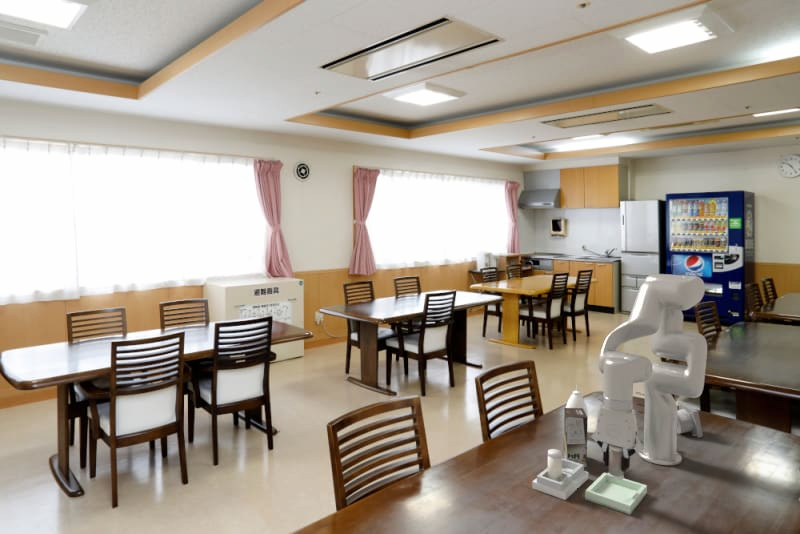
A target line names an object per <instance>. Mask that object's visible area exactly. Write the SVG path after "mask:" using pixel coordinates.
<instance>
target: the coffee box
mask: <svg viewBox="0 0 800 534" xmlns="http://www.w3.org/2000/svg"><path fill="white" fill-rule="evenodd" d="M588 418H589V417H587V415H586V413H585V411H584V409H583V408H566V407H563V457H564V459H566V460H570V461H573V462H576V463H579V464H583V465H584V468H587V467H588V466H587V465H588V464H587V463H588V462H587V461H588V460H587V459H588V421H589V420H588Z"/></svg>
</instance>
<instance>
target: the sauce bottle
mask: <svg viewBox="0 0 800 534" xmlns="http://www.w3.org/2000/svg"><path fill="white" fill-rule="evenodd" d="M575 386H576V387H575V390H573V391H572V394H571V395H570V397H569V398H568V400H567V403H566V407H565V408H583V409H584V411H585V413H586V415H587V417H588V416H589V413H588V407H587V403H586V401H585V399H584V398H583V396H582V394H581V391H578V385H577V384H576V385H575ZM588 418H589V417H588Z"/></svg>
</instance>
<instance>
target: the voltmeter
mask: <svg viewBox="0 0 800 534" xmlns="http://www.w3.org/2000/svg"><path fill="white" fill-rule="evenodd" d="M635 394H637V395H641V396H642V393H641V392H638V391H635ZM643 396H644V397H645V393H643ZM636 405H639V406H641V407H644V408H645V404H640V403H637V404H636ZM677 407H678V409H677V434H678V435H680V434H685V433H691V435H692V437H697V438H701V437H703V436H704V434H703V430H702V424H701V419H700V414H699V411H698V410H697V409H695V408H694V407H692V406H691V405H689V404H687V403H686V402H684V401H681V402H680V401H678V402H677ZM638 413H640V414H644V411H640V410H638Z"/></svg>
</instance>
